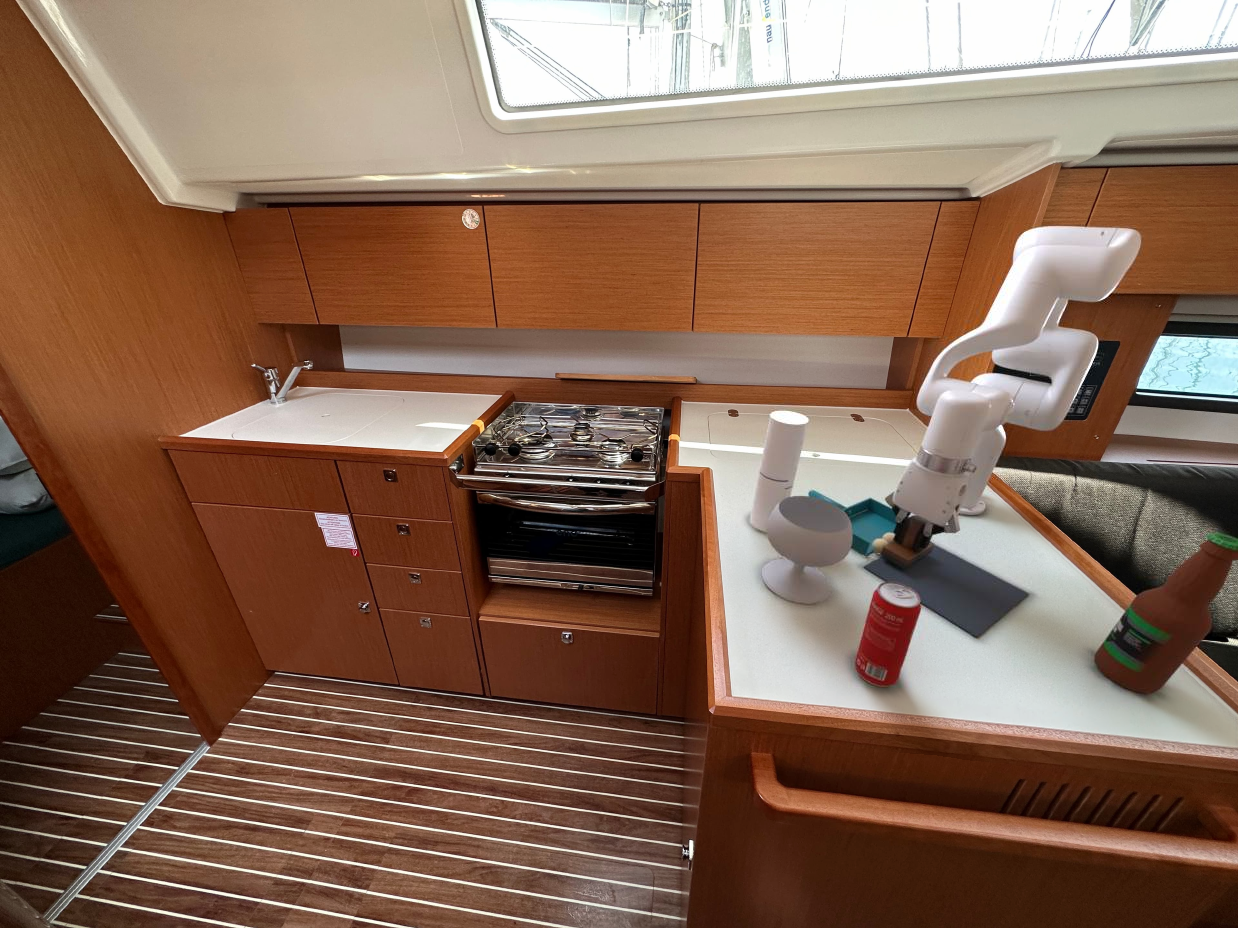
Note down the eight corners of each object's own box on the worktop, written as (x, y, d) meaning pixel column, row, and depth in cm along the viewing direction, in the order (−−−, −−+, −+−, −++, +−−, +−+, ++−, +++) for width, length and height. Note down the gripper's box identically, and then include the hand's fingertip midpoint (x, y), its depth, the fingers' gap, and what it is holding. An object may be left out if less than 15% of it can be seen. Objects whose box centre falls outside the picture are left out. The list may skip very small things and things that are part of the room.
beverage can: (902, 692, 66) (938, 614, 60) (853, 683, 67) (883, 605, 61) (889, 659, 72) (921, 583, 65) (844, 651, 73) (871, 575, 66)
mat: (918, 537, 101) (918, 536, 100) (1028, 594, 86) (1029, 593, 86) (863, 567, 91) (863, 566, 91) (976, 637, 76) (977, 636, 76)
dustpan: (910, 532, 102) (915, 519, 101) (864, 556, 94) (869, 542, 93) (829, 490, 117) (832, 478, 116) (784, 507, 109) (787, 495, 108)
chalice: (741, 565, 90) (754, 499, 83) (799, 551, 95) (816, 487, 88) (789, 617, 78) (809, 544, 72) (853, 598, 83) (877, 528, 76)
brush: (906, 539, 98) (919, 506, 94) (931, 552, 94) (945, 518, 90) (879, 555, 92) (892, 520, 89) (905, 569, 89) (919, 533, 85)
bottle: (1095, 646, 75) (1187, 516, 64) (1159, 677, 70) (1272, 542, 59) (1087, 671, 71) (1185, 536, 59) (1156, 705, 66) (1276, 565, 55)
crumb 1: (877, 535, 96) (892, 539, 94) (876, 548, 97) (891, 553, 95) (869, 538, 95) (884, 543, 92) (868, 552, 95) (883, 557, 93)
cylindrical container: (745, 514, 106) (765, 410, 95) (775, 513, 107) (799, 410, 95) (756, 533, 100) (778, 424, 88) (788, 532, 100) (815, 424, 89)
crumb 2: (892, 545, 98) (885, 531, 99) (904, 542, 96) (897, 529, 96) (883, 550, 97) (876, 537, 97) (895, 548, 94) (888, 534, 95)
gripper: (1003, 474, 80) (962, 560, 88) (906, 439, 92) (878, 518, 100) (984, 485, 76) (943, 574, 84) (885, 447, 88) (858, 528, 96)
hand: (908, 543), depth 92 cm, fingers closed on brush, 3 cm apart
